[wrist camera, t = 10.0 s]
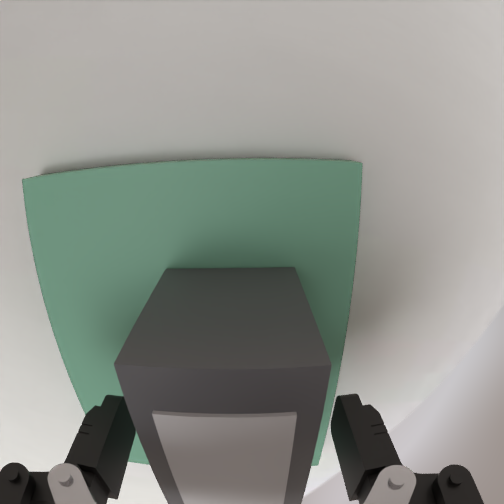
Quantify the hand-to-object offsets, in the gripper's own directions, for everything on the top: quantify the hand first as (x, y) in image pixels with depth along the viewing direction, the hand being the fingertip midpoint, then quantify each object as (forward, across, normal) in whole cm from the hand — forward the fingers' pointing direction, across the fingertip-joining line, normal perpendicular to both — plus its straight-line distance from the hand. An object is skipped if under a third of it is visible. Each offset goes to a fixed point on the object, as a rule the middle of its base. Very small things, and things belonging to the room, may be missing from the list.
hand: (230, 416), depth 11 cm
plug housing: (+3, 0, 0) cm, 3 cm away
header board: (+5, +2, 0) cm, 5 cm away
